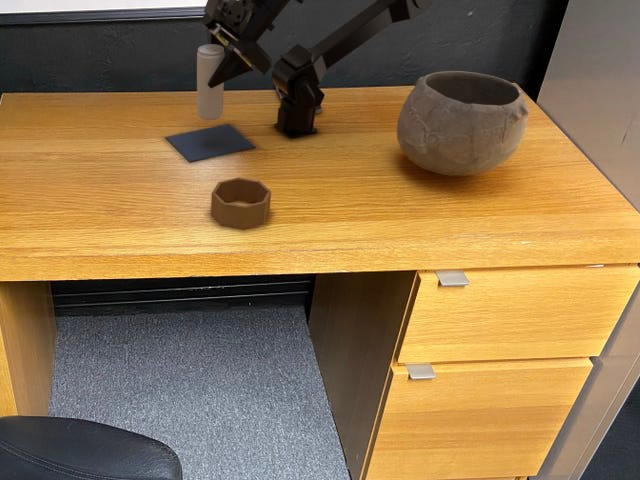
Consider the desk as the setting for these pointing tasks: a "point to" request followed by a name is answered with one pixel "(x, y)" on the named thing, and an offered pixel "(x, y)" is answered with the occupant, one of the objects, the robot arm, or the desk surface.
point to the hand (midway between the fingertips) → (203, 81)
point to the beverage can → (206, 66)
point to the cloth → (210, 142)
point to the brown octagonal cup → (238, 213)
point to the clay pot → (462, 122)
